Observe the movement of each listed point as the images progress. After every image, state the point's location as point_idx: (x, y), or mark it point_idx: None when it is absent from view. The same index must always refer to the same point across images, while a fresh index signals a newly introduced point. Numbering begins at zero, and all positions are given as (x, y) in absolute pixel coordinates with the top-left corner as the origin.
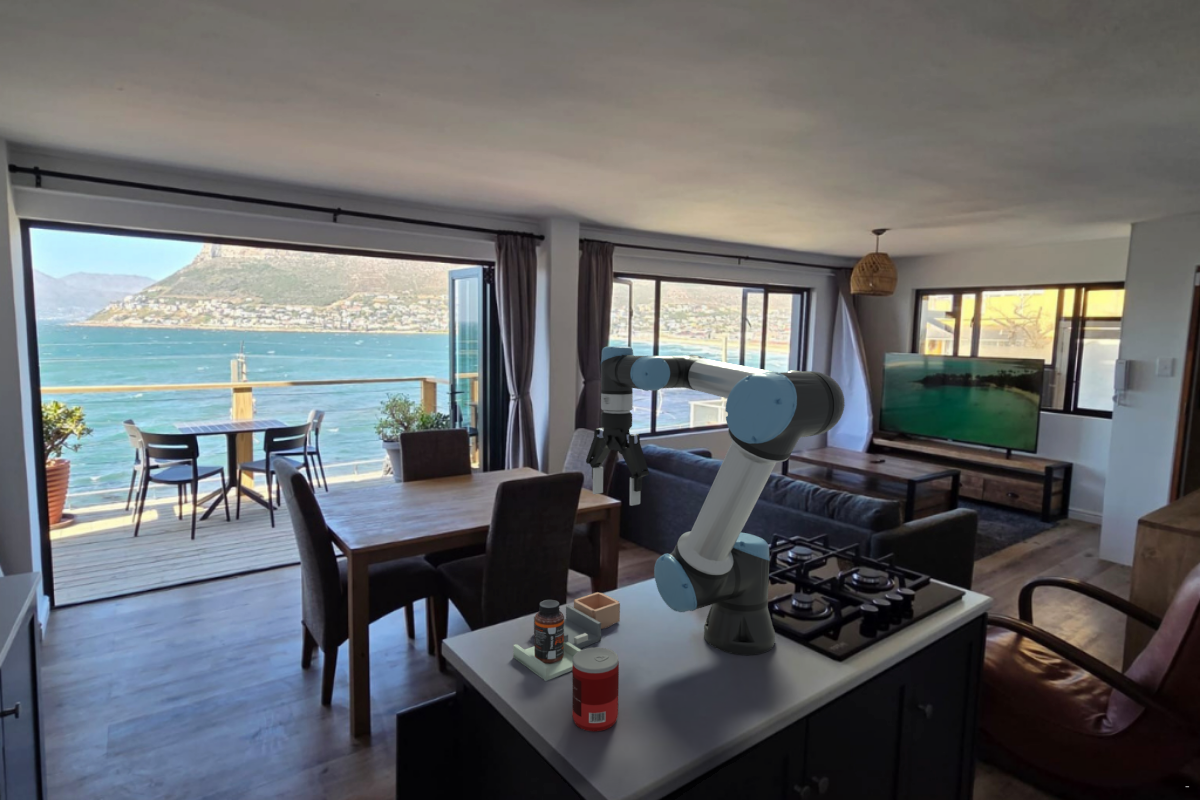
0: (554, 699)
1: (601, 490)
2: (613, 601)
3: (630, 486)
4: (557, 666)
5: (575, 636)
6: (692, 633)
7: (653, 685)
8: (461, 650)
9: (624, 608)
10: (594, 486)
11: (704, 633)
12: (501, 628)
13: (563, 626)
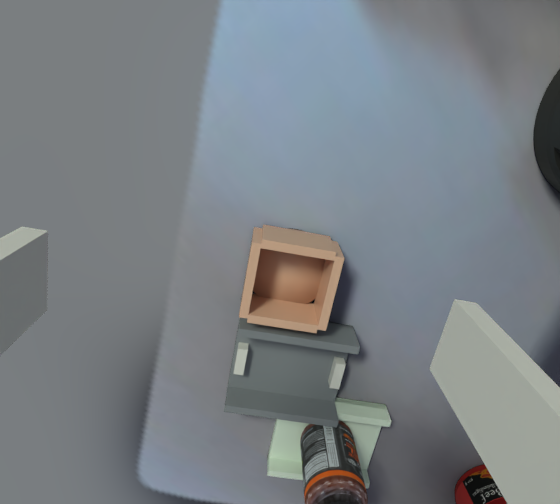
0: (406, 489)
1: (36, 252)
2: (322, 258)
3: (499, 474)
4: (358, 446)
5: (313, 362)
6: (508, 171)
7: None
8: (180, 490)
9: (295, 165)
10: (10, 343)
11: (549, 176)
12: (160, 408)
13: (362, 477)
